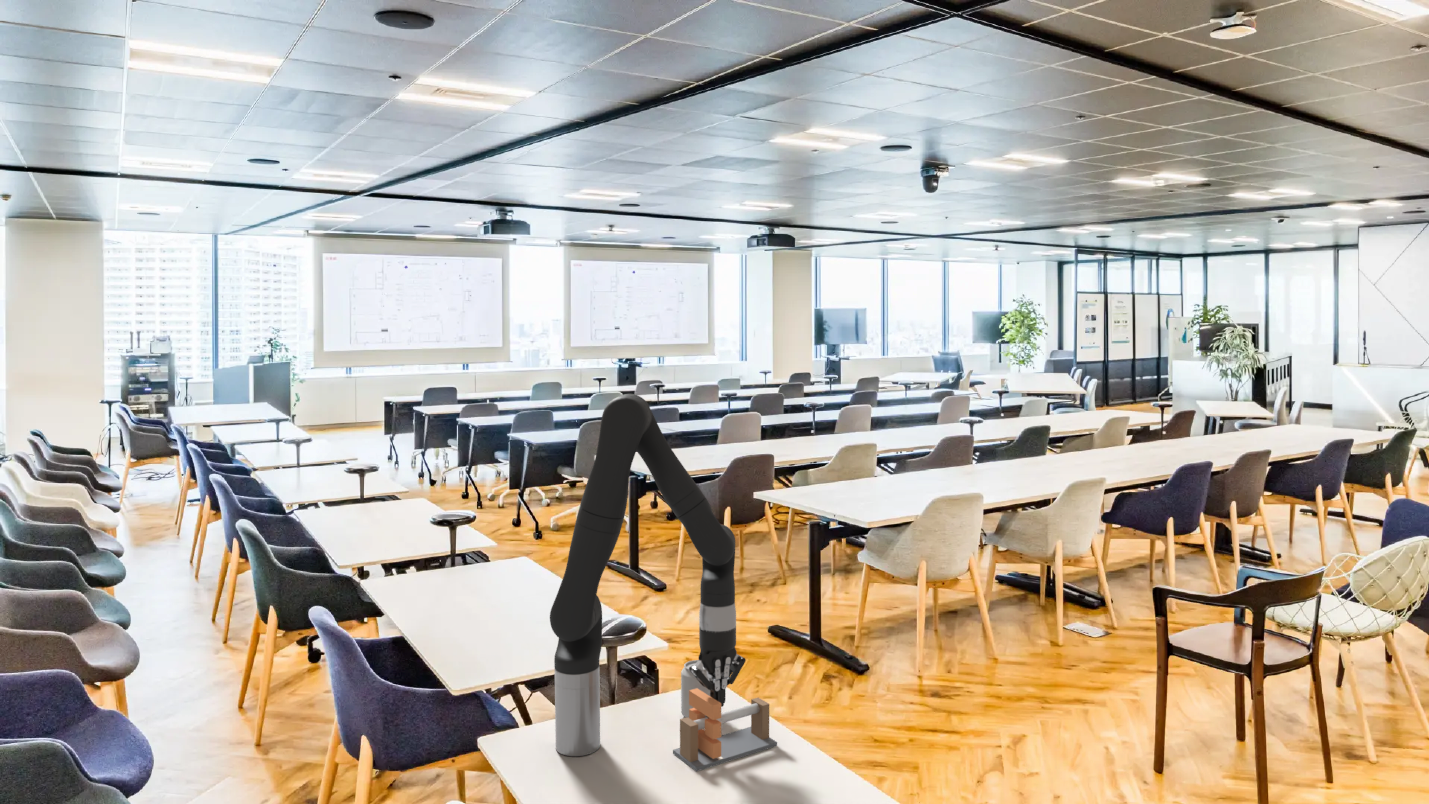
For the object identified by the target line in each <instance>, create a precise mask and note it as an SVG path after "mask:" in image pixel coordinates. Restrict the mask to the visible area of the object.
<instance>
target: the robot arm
mask: <svg viewBox="0 0 1429 804" xmlns="http://www.w3.org/2000/svg"><path fill="white" fill-rule="evenodd" d="M657 422H658V421H657V420H656V417H655V415H654V413H653V411H652V409H651V407H650V405H649V403H648V402H647V401H646V400H645V399H644V398H643V397H641V396H640V395H638V394H635V393H624V394H621V395H619V396H617V397H614V398H613V399H612V400H610V401H609V402H608V403H607V404H606V406H605V408H604V409H603V412H602V415H601V421H600V428H599V435H598V441H597V448H596V453H595V454H596V455H595V459H594V461H593V466H592V468H591V470H590V473H589V477H588V479H587V483H586V485H585V488H584V492H583V495H582V498H581V501H580V504H579V508H578V512H577V516H576V518H575V519H576V520H575V522H574V523H575V524H574V529H573V533H572V537H571V543H570V546H569V551H568V556H567V563H566V568H565V571H564V574H563V578H562V580H561V583H560V585H559V588H558V591H557V593H556V597H555V599H554V600H553V603H552V606H551V609H550V612H549V623H550V626H551V630H552V633H554V634H555V636H556V637H557V638H558V639H557V640H558V641H557V647H556V651H555V654H554V659H553V660H554V662H553V663H554V666H553V667H554V700H555V701H554V705H555V706H554V713H555V714H554V716H555V717H554V719H555V722H554V723H555V725H554V726H555V729H554V730H555V749H556V751H557V752H558V753H559V754H561V755H563V756H568V757H582V756H588V755H591V754H592V753H594V752H596V751H598V750H599V748H600V747H601V696H600V695H601V687H600V685H601V684H600V681H601V680H600V672H601V671H600V657H601V652H602V645H603V644H602V642H603V641H602V640H603V609H602V603H601V600H600V598H599V596H598V594H597V593H598V589H599V585H600V583H601V579H602V575H603V573H604V571H605V569H606V567H607V565H608V563H609V561H610V558H611V557H612V554H613V552H614V549H615V547H616V545H617V542H618V539H619V536H620V533H621V531H622V527H623V523H624V519H625V516H626V511H627V505H628V497H629V482H630V472H631V467H632V465H633V461H634V458H635V456H636V452H637V453H638V455H639V456H640V457H641V459H642V461H643V463H644V464H645V465H646V467H647V468H648V470H649V473H650V474H651V477H652V478H653V480H654V482H655V484H656V487H657V489H658V490H659V492H660V494H661V496H662V497H663V500H664V501H665V502H666V504H667V505H668V507H669V508H670V510H672V513H674V515H675V516H676V518H677V520H679V522H680V523H681V524H682V526H683V527H684V529H685V531H686V533H687V535H688V537H689V539H690V540H691V542H692V544H693V546H694V547H695V549H696V551H697V553H698V554H699V556H700V557H701V558H702V562H701V563H702V565H701V566H702V574H701V579H700V604H699V612H698V614H699V615H698V617H699V618H698V621H699V623H698V625H699V628H698V629H699V631H698V632H699V634H698V637H699V643H698V644H699V649H700V653H699V655H698V660H699V661H698V662H697V663H696V664H695V666H690V667H689V670H690V672H691V673H692V674H693V675H694V677H695V678H696V679H697V680H698V681H699V683H700V684H701V685H702V686H703V687H705V688H707V689H708V690H710V697H712V698H714V699H715V700H717V701H718V702H720V703H721V708H723V707H724V706H725V703H726V689H727V687H728V686H729V685H733V684H734V682H735V681H736V679H737V677H738V676H739V674H740V672H741V670H742V668H743V667H744V665H745V663H746V661H747V659H746V657H743V656H742V655H740V654H738V653H737V652H738V651H737V649H736V646H737V609H736V608H737V607H736V588H735V587H736V586H735V585H736V584H735V573H734V572H735V560H736V537H735V535H734V532H733V530H731V529H730V527H729V526H727V525H725V524H721V523H720V521H719V520H718V519H717V517H716V516H715V515H714V512H713V510H712V506H711V504H710V501H709V500H708V499H707V497H706V496H705V494H704V492H703V491H702V490H701V489H700V487H699V486H698V485H697V483H696V481H694V479H693V477H692V476H691V475H690V474H689V472H688V471H687V469H686V468H685V466H684V465H683V464H682V462H681V461H680V460H679V458H678V456H677V455H676V453H675V452H674V451H673V449H672V448H671V446H670V445H669V443H668V441H667V439H666V437H665V436H664V434H663V432H662V430H661V428H660V425H659V424H658V423H657ZM703 667H704V668H705V670H706V672H707V676H708V679H707V678H706V677H705V675H704V674H703V673H704V669H703Z"/></svg>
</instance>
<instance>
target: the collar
mask: <svg viewBox="0 0 1429 804" xmlns="http://www.w3.org/2000/svg"><path fill="white" fill-rule="evenodd" d="M689 705H691V706H692V707H694V708H691V709H689V718H690V719H691V720H693V721H694V720H698V719H701V718H705V715H706V716H707V717H709V719H705V728H704V729H701V730H698V749H700V750H701V751H703V752H704V753H705V754H707V755H708V756H710V757H711V758H712V759H714V758H718V757H721V741H719V740H718V739H717V738H720V737H721V735H722V723H721V722H720V721H718V720H716V719H719V718H721V713H722V707H721V703H720V702H718V701H717V700H715V699H714V698H712V697H710V696H709V695H707V694H706V693H704V692H702V691H701V690H699V689H698V688H696V689H693V690H689Z"/></svg>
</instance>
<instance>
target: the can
mask: <svg viewBox="0 0 1429 804" xmlns="http://www.w3.org/2000/svg"><path fill="white" fill-rule="evenodd" d="M698 661H699V659H696V660H695V659H694V660H688V661H687V662H685V663H684V664H683V668H682V669H681V671H680V681H681V682H680V686H681V687H680V688H681V689H680V690H681V691H680V693H681V694H680V695H681V696H680V699H681V700H680V702H681V703H680V709H681V711H680V713H681V715H682V716H683V718H686V717H688V718H689V709H691V708H694V707H692V706H691V705H689V690H693V689H696V688H698V689H699V690H701V691H702V692H704V693H706V694H707V695H709V696H710V690H708V689H707V688H705V687H703V686H702V685H701V684H700V683H699V681H698V680H697V679H696V678H695V677H694V675H693V674H692V673H691V672H690V670H689V667H690V666H695V664H696V663H697V662H698ZM703 669H704V673H703V674H704V675H705V677H706V678H707V679H708V676H707V672H706V670H705V668H704V667H703ZM705 717H706V715H705Z"/></svg>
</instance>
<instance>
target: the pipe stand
mask: <svg viewBox="0 0 1429 804" xmlns="http://www.w3.org/2000/svg"><path fill="white" fill-rule="evenodd" d="M750 701H751V703H750V704H749V705H744V706H741V707H738V708H737V707H736V708H734V709H733V708H732V709H731V710H726V711H723V712H721V718H719V719H716V720H718V721H720V722H721V724H724V723H728V722H731V721H735V720H739V719H741V718H745V717H749V716H751V719H750V720H751V724H750V725H751V726H748V727H745V728H741V729H739V730H734V731H731V732H729V733H728V732H727V733H724V734H721V737H720V738H717V739H718V740H719V741H721V757H718V758H714V759H712V758H711V757H710V756H708V755H707V754H705V753H704V752H703V751H701V750H700V749H698V730H701V729H703V730H705V719H709V717H707V716H706V717H705V718H701V719H698V720H694V721H693V720H691V719H690V718H688V717H686V718H685V717H683V718H680V719H679V748H674V749H672V754H673V755H674V756H676V757H677V758H678V759H680V761H682V762H684V764H686V765H687V766H689V767H690V768H691V769H693V770H694V771H695V772H699V771H703V770H705V769H710V768H712V767H714V766H718V765H720V764H724V763H727V762H730V761H733V760H737V759H740V758H742V757H747V756H748V755H749V754H750V755H753V754H755V753H759V752H763V751H765V750H768V749H771V747H772V748H775V747H778V742H777V741H776V740H775V739H773V738H772V737H770V703H768V701H765V700H763V699H762V698H760V697H755V698H751V700H750ZM774 746H775V747H774ZM767 748H768V749H767Z"/></svg>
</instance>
